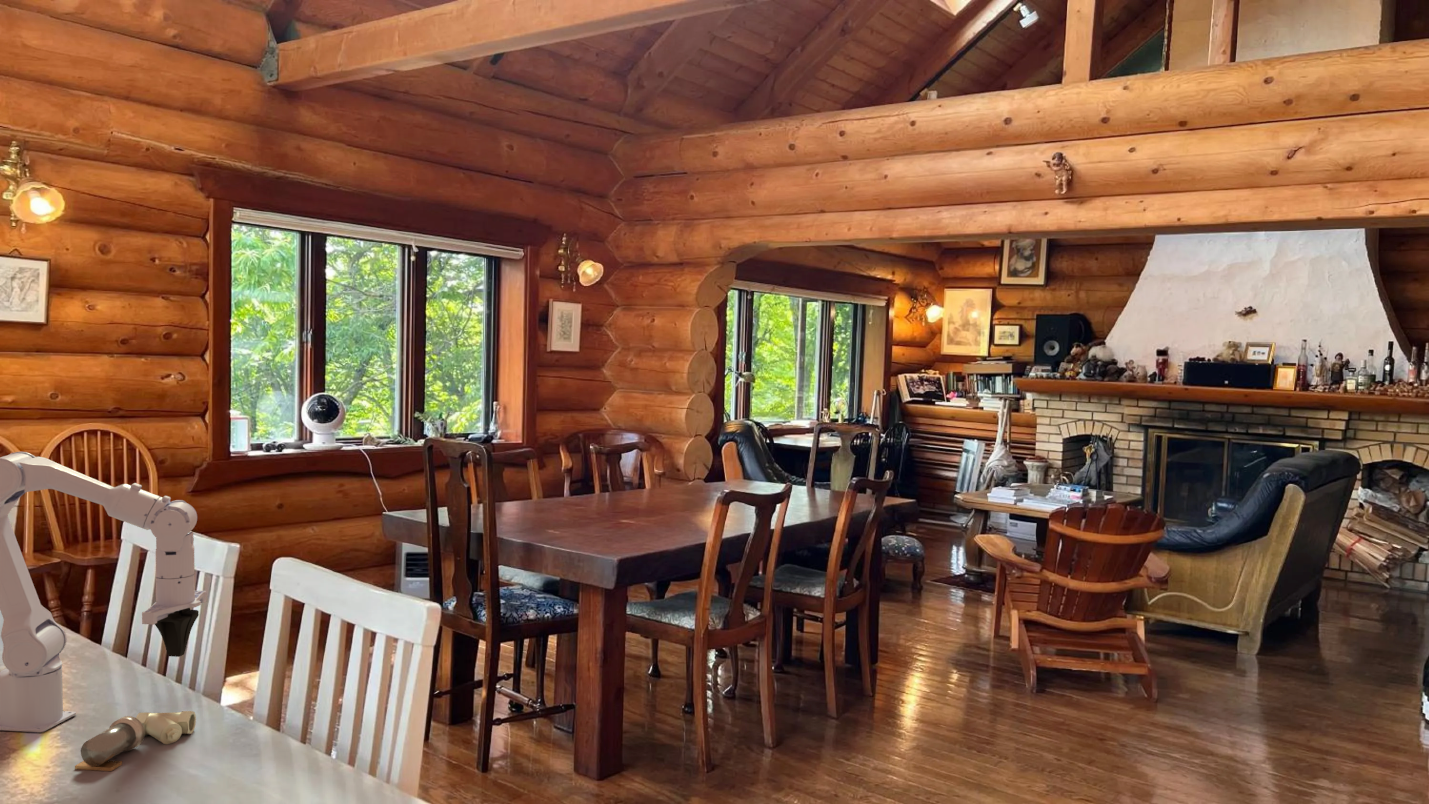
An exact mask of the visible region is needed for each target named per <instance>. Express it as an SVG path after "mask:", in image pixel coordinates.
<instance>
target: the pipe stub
mask: <svg viewBox="0 0 1429 804" xmlns="http://www.w3.org/2000/svg"><path fill="white" fill-rule="evenodd" d="M145 736H146V735H145V730H144V726H143V724H142V723H141V722H140V721H139V720H138V719H137V718H136V717H134V716H131V715H127V716H126V715H125V716H122V717H120V718H118V719H117V720H115V721H113V722H112V723H111V724H110V726H109V728H107V729H106V730H104V731H102V732H101V733H98V734H97V735H95V736H92V738H90V739H87V741H85V742H83V744H82V746H81V747H80V755H81V758H82V760H83V761H81V762H79V763H77V764H76V765H74V770H82V771H85V770H86V771H101V772H102V771H104V772H113V771H114V770H116V769H117V768H118V767H121V766H123V761H122V760H111V759H113V758H114V757H116V756H118V755H119V754H121V753H122V752H129V751H132V750H133V749H135V748H137V747H138V746H140V745H141V744H142V743H143V742H144V739H145Z"/></svg>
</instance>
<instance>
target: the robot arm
mask: <svg viewBox="0 0 1429 804" xmlns="http://www.w3.org/2000/svg"><path fill="white" fill-rule="evenodd" d="M142 487H143V485H142V484H139V483H137V482H134V483H132V484H128V483H122V484H119V485H117V486H112V485H110V484H107V483H105V482H103V481H100V480H98V479H96V478H93V477H92V476H91V477H90V476H88V475H86V474H83V473H81V472H79V471H77V470H74V469H72V468H69V467H68V466H64V465H63V464H60V463H59V462H58V463H57V462H55V461H54V460H51V459H49V458H47V457H42V456H35V455H34V454H32V453H30V452H27V451H14V452H11V453H10V454H8V455H3V456H1V457H0V613H1V616H2V618H3V623H2V627H1V630H0V631H1V632H0V639H1V641H2V646H3V649H2V655H1V659H2V663H3V665H4V667H5V668H4V669H2V670H1V671H0V731H7V732H8V731H9V732H28V733H44V732H46V731H48V730H49V729H52V728H54V727H55V726H57V725H60V723H63V722H65V721H66V720H69V719H71V718H73V717H74V716H76V715H77V712H76V711H70V710H69V711H68V710H67V711H66V710H65V711H64V697H63V696H64V693H63V692H64V691H63V688H64V687H63V661H62V659H61V657H60V654H61V653H62V652H63V650H64V649H65V647H66V645H67V642H68V637H67V634H66V633H67V632H66V630H64V628H63V627H62V626H61V625H60V624H58V623H57V622H56V621H55V619H54V617H53V614H52V612H51V611H49V610H48V609H47V608H46V607H44V606H43V605H42V603H41V600H40V599H39V595H38V593H37V590H36V588H35V586H34V585H35V584H34V583H33V582H34V581H33V580H32V577H31V574H30V572H29V569H28V566H27V564H26V562H25V558H24V556H23V553H22V551H21V548H20V545H19V543H18V541H17V537H16V534H15V531H14V529H13V527H12V524H11V521H10V519H9V513H11V511H12V509H13V508H14V506H16V504H17V503H18V501H19V499H20V498H21V497H22V496H23V495H25V494H26V493H29V492H35V491H43V490H54V491H58V492H61V493H64V494H67V495H69V496H73V497H77V498H79V499H83V500H85V501H89V502H92V503H93V504H94V503H95V504H97V505H101V506H103V508H104V510H105V512H106V513H107V515H108V517H111V518H113V519H116V520H119V521H122V522H124V523H127V524H129V525H130V524H131V525H132V526H135V527H137V528H141V529H142V530H143V529H144V530H146V531H148V530H150V532H151V533H152V535H153V536H154V537H155V538H156V539H155V542H156V543H155V597H156V598H155V602H154V603H153V604H152V605H151V606H150V607H149V608H148V609H146V610H145V611H142V612H141V624H142V625H154V626H156V629H157V630H158V632H159V633H160V635H161V639H162V640H163V641H162V642H163V643H164V646H165V650H166V653H167V656H168V657H175V658H177V657H178V658H179V657H182V656H184V655H185V652H186V649H187V645H188V640H189V637H190V634H191V630H192V629H193V626H194V624H195V622H196V620H197V619H198V617H199V615H200V614H199V611H200V610H198V609H191V608H198V607H199V606H201V605H202V604H204V603H206V602H207V597H208V596H207V590H196V589H195V586H196V585H195V584H196V583H195V577H196V576H195V546H194V531H192V530H193V529H194V528H195V526H196V525H197V521H198V514H197V513H198V512H197V511H196V508H194V507H193V506H192V505H191V504H189V503H187V502H186V500H183V499H176V500H172V501H171V499H172V498H171V496H168V495H164V496H163V497H162V496H160V495H158V494H154V493H152V492H149V491H147V490H144V489H142Z"/></svg>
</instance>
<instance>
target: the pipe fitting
mask: <svg viewBox="0 0 1429 804" xmlns="http://www.w3.org/2000/svg"><path fill="white" fill-rule="evenodd" d="M135 718H137V719H138V720H139V721H140V722H141V723H142V724H143V726H144V730H145V736H151V737H152V738H154V739H156V740H157V741H158V742H159V743H162V744H164V745H169V744H173V743H176V742H178V740H180V738H181V736H182V735H191V734H193V733H194V730H195V729H196V723H197V715H196V712H195V711H192V710H185V711H181V712H180V711H179V712H177V711H175V712H147V711H146V712H138V714H137V715H136V717H135Z"/></svg>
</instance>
